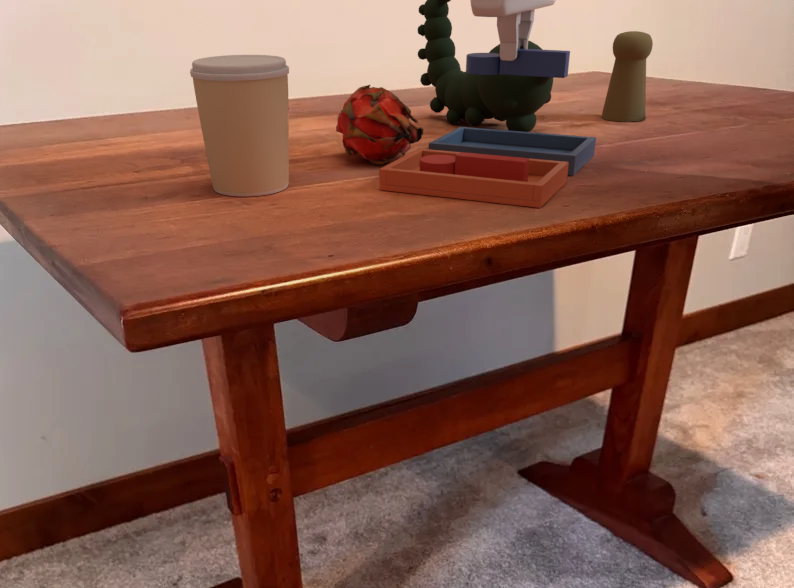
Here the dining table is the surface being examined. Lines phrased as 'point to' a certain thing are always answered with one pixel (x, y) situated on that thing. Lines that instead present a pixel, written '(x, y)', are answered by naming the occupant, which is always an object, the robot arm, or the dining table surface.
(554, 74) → the blue spoon
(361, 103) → the dragon fruit
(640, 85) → the olive knobbed cone
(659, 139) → the dining table surface
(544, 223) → the dining table surface
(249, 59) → the coffee cup
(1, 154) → the dining table surface
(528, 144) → the blue tray
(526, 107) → the toy figurine
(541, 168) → the red tray
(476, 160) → the red spoon
